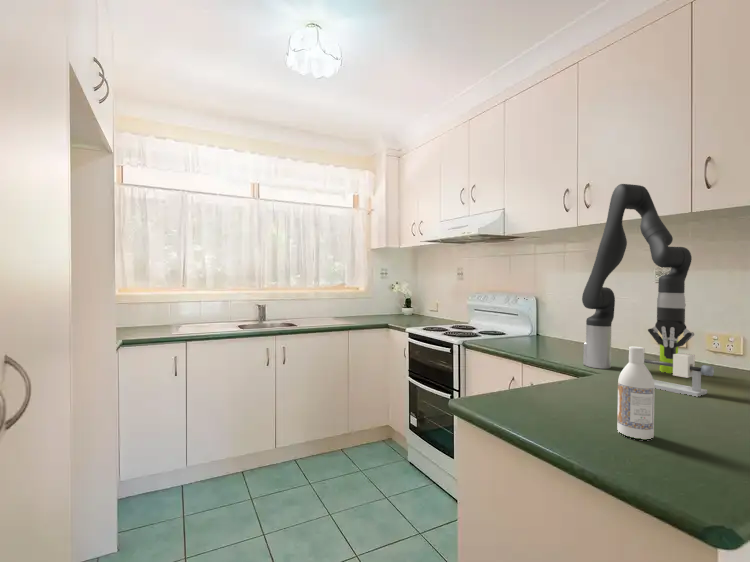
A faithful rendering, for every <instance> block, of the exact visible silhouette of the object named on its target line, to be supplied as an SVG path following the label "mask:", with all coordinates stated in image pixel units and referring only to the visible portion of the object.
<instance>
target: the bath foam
mask: <svg viewBox="0 0 750 562" xmlns="http://www.w3.org/2000/svg"><path fill="white" fill-rule="evenodd" d="M628 351H629V352H628V363H626V365H625V366H624V367H623V369H622V370H621V372H620V373H619V375H618V380H617V381H618V382H617V414H616V415H617V418H616V419H617V425H616V426H617V427H616V429H617V430H618V431H617V433H619V432H620V433H622V434H624V435H626V436H630V437H634V438H641V439H651V438H653V439H654V436H655V390H656V389H655V386H654V380H655V379H654V377H653V375H652V373H651V372H650V370H649V369H648V367H647V366H646V365H645V362H644V359H645V348H644V347H642V346H635V345H633V346H632V345H631V346H629V347H628ZM651 440H652V439H651Z"/></svg>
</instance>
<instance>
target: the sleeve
mask: <svg viewBox="0 0 750 562" xmlns="http://www.w3.org/2000/svg"><path fill="white" fill-rule="evenodd" d="M695 360H696V355H695V354H691V353H685V352H678V353H677V354H673V374H672V376H674V377H675V376H676V377H681V378H687V379H688V378H692V371H693V370H690V366H693V367H696V366H695V362H696V361H695Z"/></svg>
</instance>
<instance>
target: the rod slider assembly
mask: <svg viewBox="0 0 750 562" xmlns="http://www.w3.org/2000/svg"><path fill="white" fill-rule="evenodd" d="M645 363H646V364H653V365H656V366H657V365H658V366H660V365H663V366H670V367H673V363H667V362H661V361H660V360H653V359H647V358H644V364H645ZM690 370H693V371H692V377H691V379H692V380H691V386H690V385H683V384H679V383H678V384H677V383H673V382H667V381H663V380H657V379H653V380H654V386H655V388H656V389H655V390H660V389H661V390H662V391H665V390H666V392H670V393H676V394H680V393H681V394H680V395H684V394H687V395H686V396H689V395H692V396H691V397H694V396H696V397H695V398H699V397H702V396H704V395H707V394H708V389H705V388H702V387H701V386H702V376H703V375H704V376H709V377H713V376H714V374H715V368H714V366H712V365H704V364H702V365H701V366H700V367H699V366H695V367H693V366H690ZM661 390H660V391H661ZM701 395H702V396H701ZM698 396H699V397H698Z"/></svg>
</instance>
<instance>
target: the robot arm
mask: <svg viewBox="0 0 750 562" xmlns="http://www.w3.org/2000/svg"><path fill="white" fill-rule="evenodd" d="M625 210H634V211H636V212H637V213H638V214H639V216H640V217H641V220H640V225H639V227H640V232H641V234H642V236H643V238H644V239H645V241H646V242H647V244H648V245H649V251H650V255H651V259H652V261H653V263H654V264H655V266H658V267H659V268H663V269H664V268H667V269H669V268H670V271H669V273H668V274H663V275H661V276H659V278H658V285H657V286H658V287H657V288H658V289H657V290H658V291H657V292H658V294H657V298H656V323H655V325H654V326H653V327H652V328H648V329H647V331H648V333H649V334H650V336H651V337H652V338H653V339H654V340H655V342H656V343H657V344H658V345H659V346H660V345H663V346H664V356H666V358H667V359H673V354H676V347H678V348H679V347H684V345H685V344H686V343H687V342H689V341H690V340H691V339H692V338H693V337H694V336H695V333H694V332H692V331H690V330H689V329H688V328H687V325H686V296H685V295H686V294H685V291H686V290H685V287H686V286H685V281H686V278H687V276H688V273H689V271H690V267H691V265H692V261H693V260H692V254H691V251H690V250H689V248H686V247H683V246H670V245H671V244H672V243H673V239H674V238H673V236H672V234H671V233H670V230H668V228H667V227H666V225H665V224H664V222H663V221H662V219H661V218H660V215H659V213H658V211H657V209H656V206H655V204H654V202H653V200H652V197H651V194H650V192H649V190H648V189H647V188H646V187H645V186H643V185H641V184H640V185H639V184H629V183H620V184H618V185H617V186H616V187H615V188H614V190H613V191H612V194H611V197H610V200H609V207H608V212H607V218H606V222H605V227H604V228H603V229H604V230H603V233H602V237H601V240H600V242H599V246H598V249H597V253H596V256H595V261H594V264H593V265H592V269H591V273H590V275H589V277H588V280H587V282H586V285H585V286H584V290H583V292H582V298H581V301H582V305H583V307H584V308H586V309H589V310H595V312H594V313H593V315H591V316H588V317H587V318H586V321H585V322H586V325H585V327H586V328H585V331H586V332H585V334H586V335H585V342H584V343H583V361H582V362H583V363H582V364H583V366H586V367H589V368H594V369H604V370H605V369H611V367H612V365H611V364H612V322H613V320H614V317H615V316H614V315H615V304H616V295H615V293H614V291H613V289H611V288H609V287H607V286H606V287H604V284H605V281H606V280H607V278H609V276H610V274H611V273H612V272H614V270H615V269H616V268H617V267H618V266H619V265H620V264H621V262H622V261H623V258H624V255H625V252H626V249H627V246H628V240H627V236H626V233H625V230H624V225H623V219H624V214H625ZM659 333H660V334H659ZM681 335H683V337H681V338H680V339H679V337H680V336H681ZM677 341H678V342H677Z"/></svg>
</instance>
